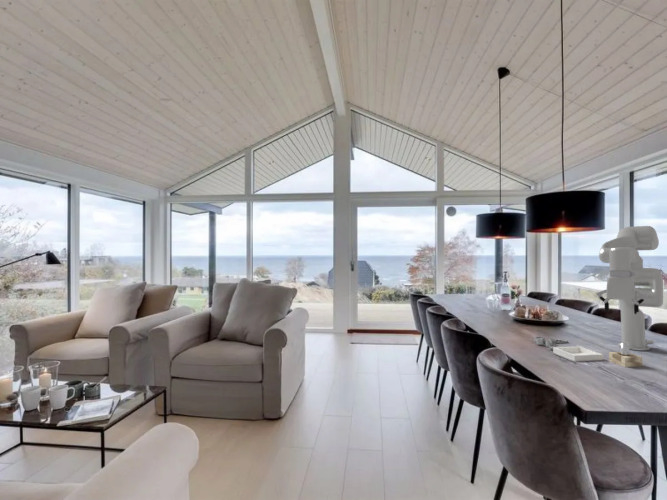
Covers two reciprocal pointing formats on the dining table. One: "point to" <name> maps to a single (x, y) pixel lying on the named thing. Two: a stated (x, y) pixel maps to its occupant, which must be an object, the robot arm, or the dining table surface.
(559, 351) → the tray
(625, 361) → the tan hollow square block
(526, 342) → the dining table surface
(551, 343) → the pulley system
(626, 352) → the pin
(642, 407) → the dining table surface
